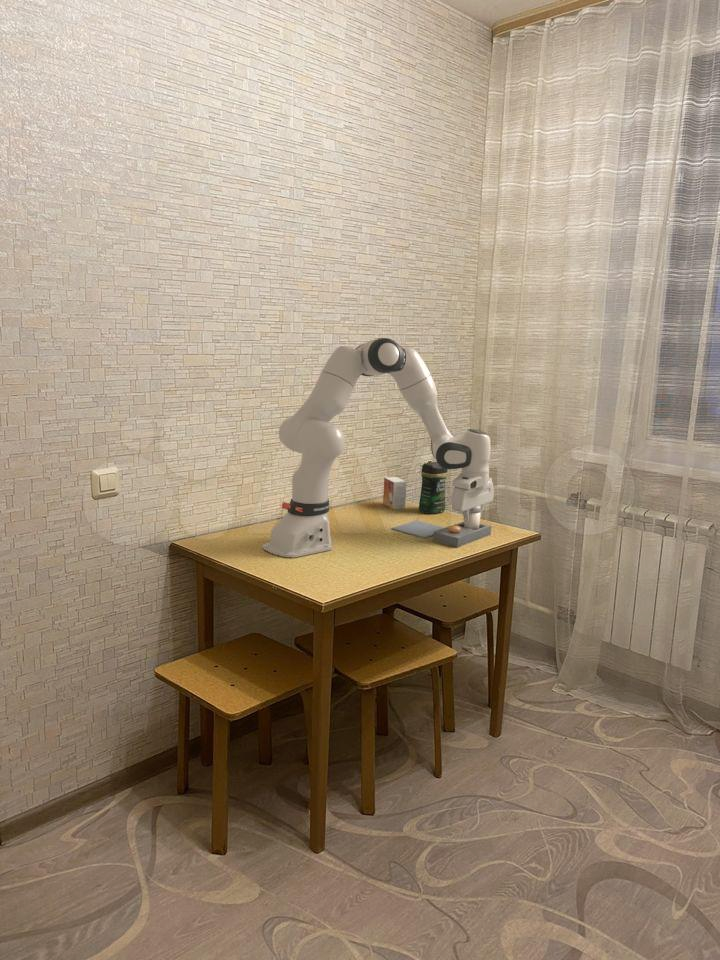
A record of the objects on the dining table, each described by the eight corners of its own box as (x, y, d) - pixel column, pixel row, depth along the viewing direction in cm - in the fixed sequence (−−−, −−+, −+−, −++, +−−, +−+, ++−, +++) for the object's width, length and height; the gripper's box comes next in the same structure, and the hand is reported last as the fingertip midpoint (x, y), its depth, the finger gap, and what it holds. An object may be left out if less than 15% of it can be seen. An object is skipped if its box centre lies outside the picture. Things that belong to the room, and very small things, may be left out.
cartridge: (473, 537, 243) (475, 508, 241) (460, 534, 247) (462, 505, 244) (481, 534, 247) (483, 505, 245) (468, 531, 250) (470, 502, 248)
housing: (457, 547, 233) (458, 538, 232) (433, 540, 239) (433, 531, 238) (490, 534, 247) (491, 526, 247) (466, 528, 253) (467, 520, 253)
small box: (382, 504, 281) (383, 477, 279) (395, 503, 284) (396, 476, 281) (392, 509, 274) (393, 482, 272) (405, 508, 277) (407, 481, 274)
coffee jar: (431, 515, 268) (433, 465, 263) (415, 511, 273) (417, 461, 269) (449, 511, 274) (452, 462, 270) (433, 507, 280) (435, 458, 276)
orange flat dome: (456, 533, 236) (456, 529, 236) (446, 531, 239) (447, 526, 238) (462, 531, 239) (462, 527, 239) (453, 528, 241) (453, 524, 241)
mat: (424, 538, 241) (424, 537, 241) (391, 529, 250) (391, 528, 250) (449, 529, 251) (449, 528, 251) (416, 521, 260) (416, 520, 260)
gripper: (483, 472, 252) (480, 512, 255) (449, 481, 237) (446, 523, 240) (499, 475, 248) (496, 515, 251) (466, 485, 233) (463, 527, 236)
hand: (472, 519), depth 246 cm, fingers closed on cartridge, 5 cm apart
